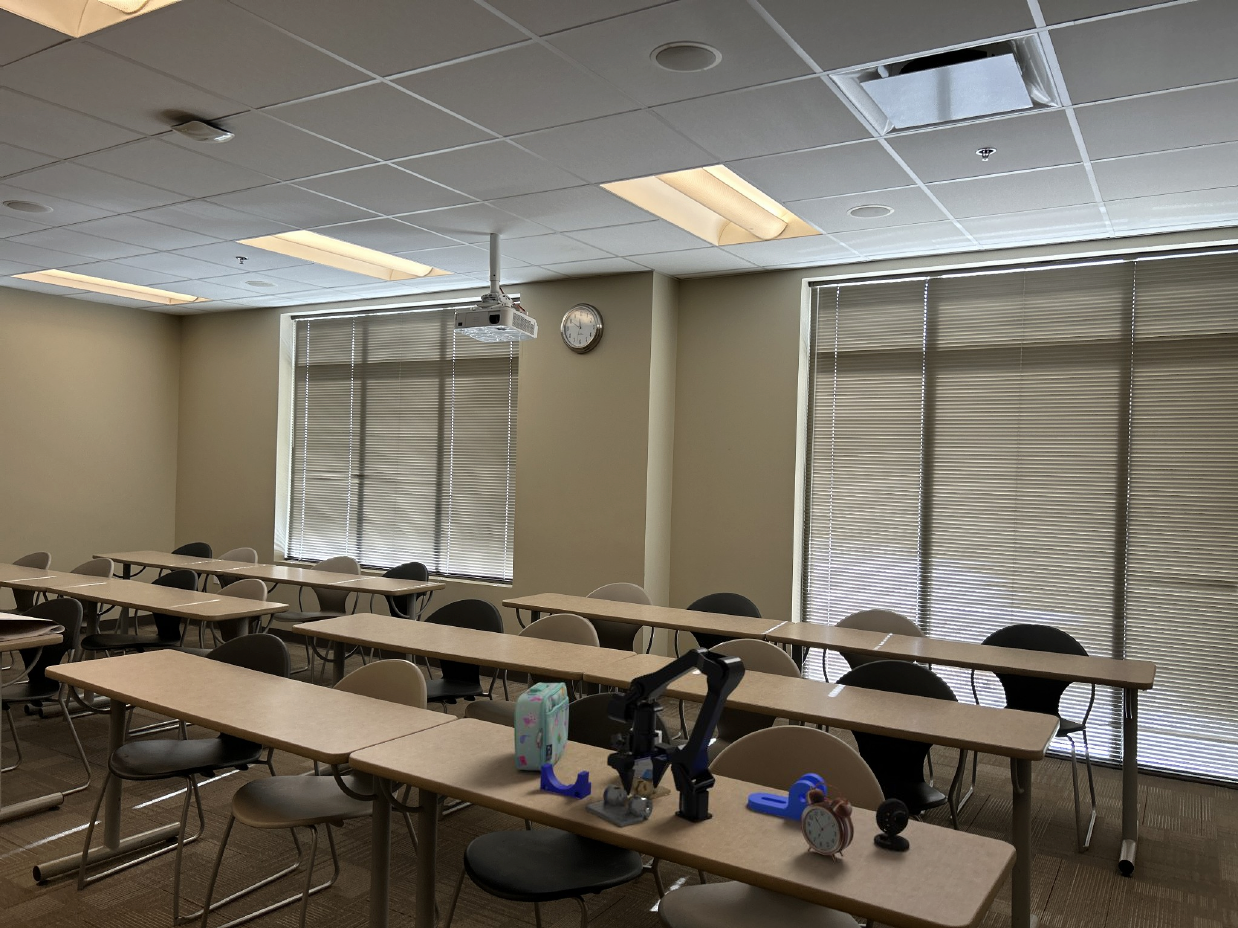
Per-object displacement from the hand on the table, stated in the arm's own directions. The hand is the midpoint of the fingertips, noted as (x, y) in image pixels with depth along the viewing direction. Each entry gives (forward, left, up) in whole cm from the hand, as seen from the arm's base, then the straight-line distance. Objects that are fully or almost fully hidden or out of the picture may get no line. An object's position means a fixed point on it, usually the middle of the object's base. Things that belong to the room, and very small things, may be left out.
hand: (641, 791), depth 214 cm
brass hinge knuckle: (0, -3, -2) cm, 3 cm away
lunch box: (+36, +4, -2) cm, 36 cm away
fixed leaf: (-5, +12, -1) cm, 13 cm away
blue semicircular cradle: (+14, +13, -2) cm, 19 cm away
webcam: (-53, -26, -2) cm, 59 cm away
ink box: (+12, -12, -2) cm, 17 cm away
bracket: (-26, -23, -2) cm, 35 cm away
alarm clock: (-48, -9, -2) cm, 49 cm away
